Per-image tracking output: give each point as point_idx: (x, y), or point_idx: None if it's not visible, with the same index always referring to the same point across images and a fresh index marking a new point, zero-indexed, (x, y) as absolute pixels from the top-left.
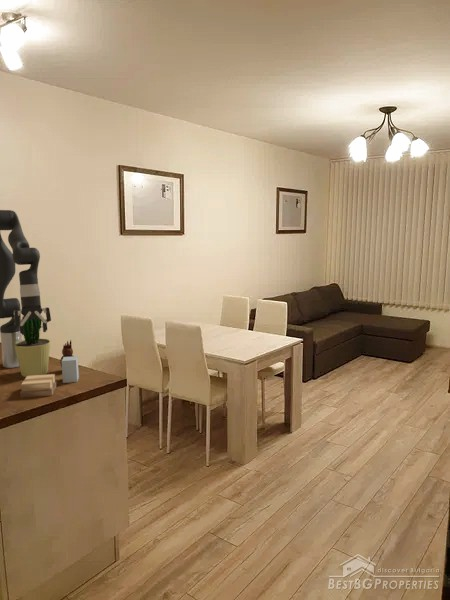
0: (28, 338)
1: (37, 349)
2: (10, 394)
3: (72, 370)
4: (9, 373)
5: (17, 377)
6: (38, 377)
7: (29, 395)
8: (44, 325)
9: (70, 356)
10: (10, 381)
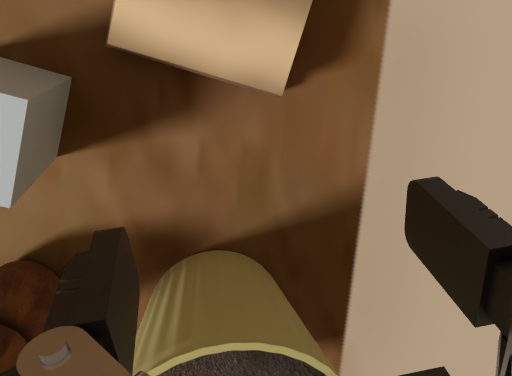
0: None
1: (205, 332)
2: (365, 12)
3: None
4: (326, 345)
5: (300, 274)
6: (220, 14)
7: None
8: (95, 295)
9: None
10: (337, 227)
